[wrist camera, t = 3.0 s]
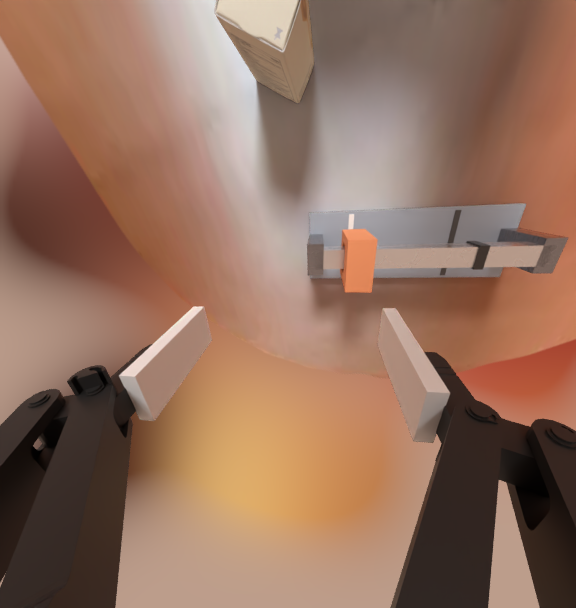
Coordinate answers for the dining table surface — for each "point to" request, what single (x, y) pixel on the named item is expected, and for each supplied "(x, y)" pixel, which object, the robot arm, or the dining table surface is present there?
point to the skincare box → (272, 41)
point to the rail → (452, 253)
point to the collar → (358, 260)
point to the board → (420, 232)
